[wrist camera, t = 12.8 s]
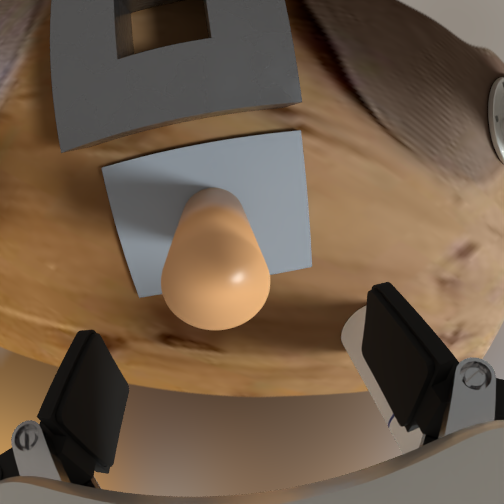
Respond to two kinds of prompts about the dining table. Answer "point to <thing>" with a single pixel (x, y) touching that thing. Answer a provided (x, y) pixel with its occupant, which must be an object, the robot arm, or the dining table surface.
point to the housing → (165, 68)
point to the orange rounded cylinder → (214, 264)
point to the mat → (212, 176)
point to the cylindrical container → (353, 345)
